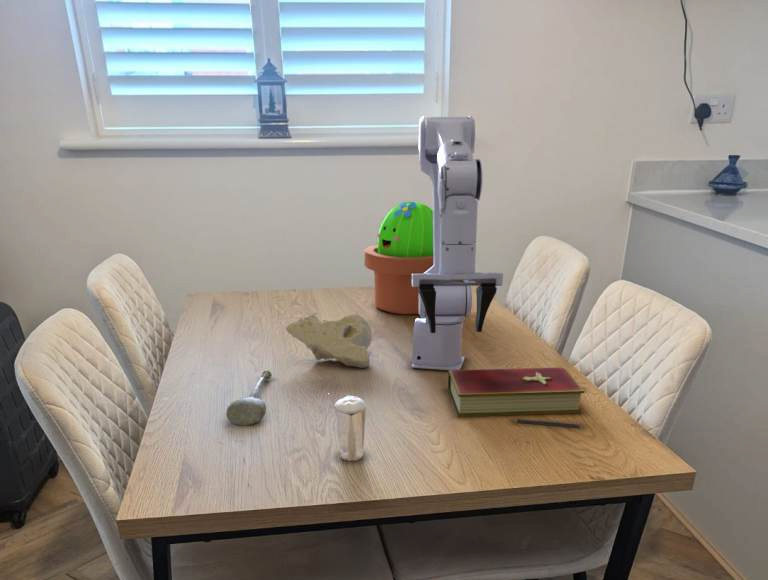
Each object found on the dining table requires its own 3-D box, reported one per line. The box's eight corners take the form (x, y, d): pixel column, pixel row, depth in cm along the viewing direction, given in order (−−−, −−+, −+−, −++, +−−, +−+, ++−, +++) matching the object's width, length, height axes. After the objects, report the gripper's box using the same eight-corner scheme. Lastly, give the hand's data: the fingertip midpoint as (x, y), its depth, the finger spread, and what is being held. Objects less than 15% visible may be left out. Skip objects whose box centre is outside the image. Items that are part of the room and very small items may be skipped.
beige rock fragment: (387, 368, 146) (352, 310, 149) (389, 351, 139) (352, 290, 142) (320, 401, 144) (286, 341, 147) (319, 385, 136) (283, 322, 140)
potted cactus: (413, 291, 194) (415, 190, 181) (472, 306, 179) (477, 198, 166) (349, 304, 182) (345, 198, 169) (405, 323, 167) (406, 208, 154)
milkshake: (330, 450, 108) (327, 388, 103) (366, 449, 109) (364, 386, 104) (331, 464, 105) (328, 399, 99) (368, 462, 105) (366, 398, 100)
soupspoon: (222, 429, 117) (262, 431, 117) (220, 410, 115) (261, 412, 115) (251, 377, 136) (285, 379, 136) (249, 360, 134) (284, 362, 134)
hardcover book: (447, 390, 130) (448, 368, 127) (562, 387, 131) (564, 364, 128) (457, 416, 119) (458, 393, 117) (581, 413, 120) (584, 389, 118)
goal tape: (517, 422, 117) (517, 422, 117) (524, 384, 132) (524, 383, 132) (579, 428, 115) (579, 427, 115) (579, 388, 130) (579, 387, 130)
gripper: (415, 245, 109) (414, 336, 114) (508, 244, 110) (504, 334, 115) (410, 244, 116) (410, 330, 121) (499, 243, 117) (495, 328, 122)
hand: (455, 331), depth 118 cm, fingers open, 7 cm apart
